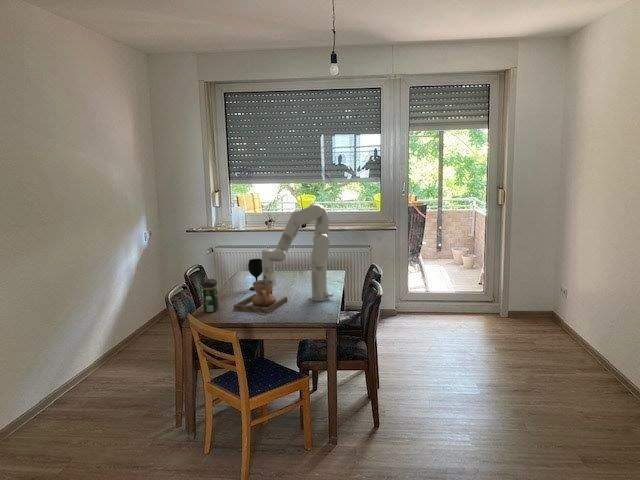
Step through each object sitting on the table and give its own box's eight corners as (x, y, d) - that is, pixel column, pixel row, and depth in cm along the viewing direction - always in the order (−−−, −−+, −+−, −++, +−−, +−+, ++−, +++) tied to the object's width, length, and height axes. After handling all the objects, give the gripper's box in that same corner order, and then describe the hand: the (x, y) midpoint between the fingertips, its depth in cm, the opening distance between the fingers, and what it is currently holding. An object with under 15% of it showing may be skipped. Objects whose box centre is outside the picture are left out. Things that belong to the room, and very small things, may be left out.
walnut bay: (287, 301, 308) (287, 296, 307) (268, 313, 285) (268, 308, 284) (254, 298, 316) (254, 294, 316) (233, 309, 293) (233, 305, 293)
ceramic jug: (252, 301, 310) (250, 279, 307) (275, 299, 312) (274, 277, 309) (252, 310, 292) (250, 287, 290) (276, 308, 294) (275, 285, 291)
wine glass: (261, 290, 334) (260, 261, 331) (247, 290, 336) (245, 261, 333) (266, 287, 344) (265, 258, 341) (252, 286, 346) (250, 258, 343)
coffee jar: (207, 308, 299) (205, 277, 296) (220, 308, 298) (218, 277, 295) (201, 312, 289) (199, 281, 286) (215, 313, 288) (213, 281, 285)
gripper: (268, 272, 299) (269, 301, 302) (279, 267, 313) (280, 295, 316) (257, 271, 302) (258, 300, 305) (268, 266, 316) (269, 294, 319)
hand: (269, 298), depth 311 cm, fingers closed
